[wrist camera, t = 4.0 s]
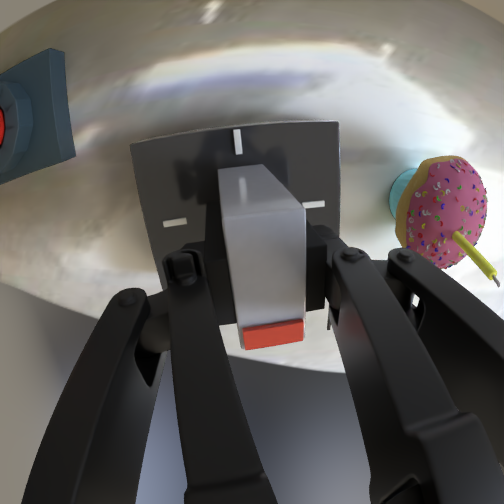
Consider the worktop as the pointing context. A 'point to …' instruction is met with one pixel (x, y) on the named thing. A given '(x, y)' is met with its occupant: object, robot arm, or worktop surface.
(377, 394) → the robot arm
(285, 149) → the plate
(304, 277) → the hob knob
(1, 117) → the button
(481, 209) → the cupcake
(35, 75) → the button box
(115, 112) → the worktop surface
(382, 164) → the worktop surface
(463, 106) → the worktop surface
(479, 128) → the worktop surface
